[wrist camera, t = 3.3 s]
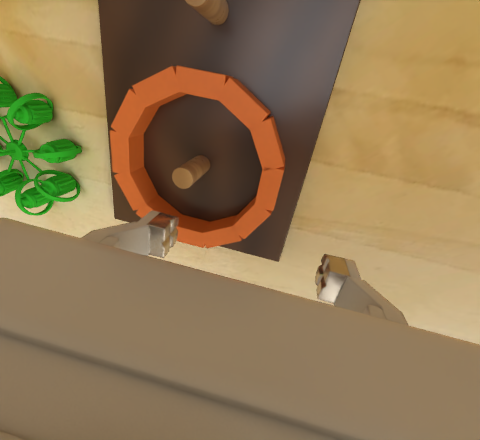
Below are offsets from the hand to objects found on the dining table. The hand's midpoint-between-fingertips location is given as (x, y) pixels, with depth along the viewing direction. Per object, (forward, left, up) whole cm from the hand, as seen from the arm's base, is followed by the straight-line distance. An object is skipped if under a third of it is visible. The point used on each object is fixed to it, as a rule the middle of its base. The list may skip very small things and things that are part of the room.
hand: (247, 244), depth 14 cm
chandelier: (+27, +3, -13) cm, 30 cm away
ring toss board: (+7, -6, -13) cm, 16 cm away
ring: (+7, 0, -12) cm, 14 cm away
